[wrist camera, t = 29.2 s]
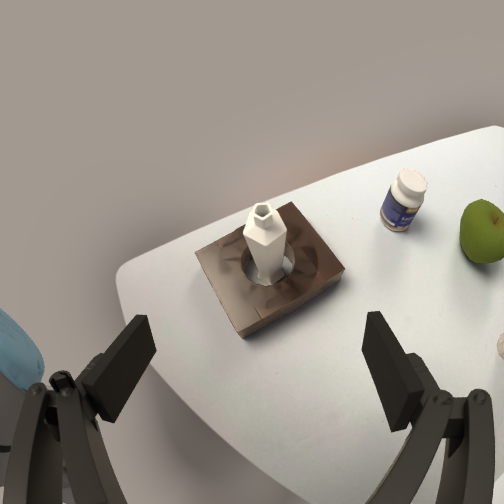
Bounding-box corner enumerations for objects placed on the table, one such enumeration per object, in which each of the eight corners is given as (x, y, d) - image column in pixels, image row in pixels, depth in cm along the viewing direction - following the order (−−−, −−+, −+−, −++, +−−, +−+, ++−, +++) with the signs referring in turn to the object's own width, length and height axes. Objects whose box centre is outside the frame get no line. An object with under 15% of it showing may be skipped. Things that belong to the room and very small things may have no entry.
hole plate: (242, 339, 36) (237, 334, 32) (201, 263, 42) (194, 251, 38) (340, 281, 38) (346, 269, 35) (290, 215, 44) (291, 200, 41)
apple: (438, 229, 40) (463, 194, 31) (472, 217, 40) (496, 185, 31) (465, 284, 35) (499, 256, 26) (498, 265, 35) (528, 238, 26)
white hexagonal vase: (249, 264, 41) (232, 201, 28) (277, 254, 41) (272, 187, 28) (260, 292, 39) (246, 237, 26) (289, 280, 39) (290, 221, 26)
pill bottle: (398, 239, 40) (420, 201, 31) (372, 216, 43) (388, 176, 34) (414, 219, 41) (436, 182, 33) (390, 199, 44) (406, 159, 35)
